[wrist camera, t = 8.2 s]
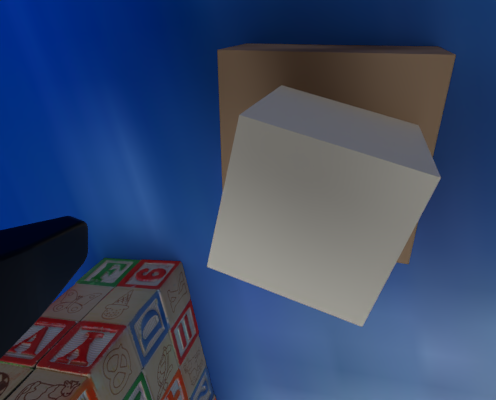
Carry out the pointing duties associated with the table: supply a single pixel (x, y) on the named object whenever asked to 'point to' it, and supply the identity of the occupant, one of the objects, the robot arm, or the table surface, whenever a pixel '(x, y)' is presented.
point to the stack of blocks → (113, 340)
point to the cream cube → (320, 200)
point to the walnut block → (338, 84)
